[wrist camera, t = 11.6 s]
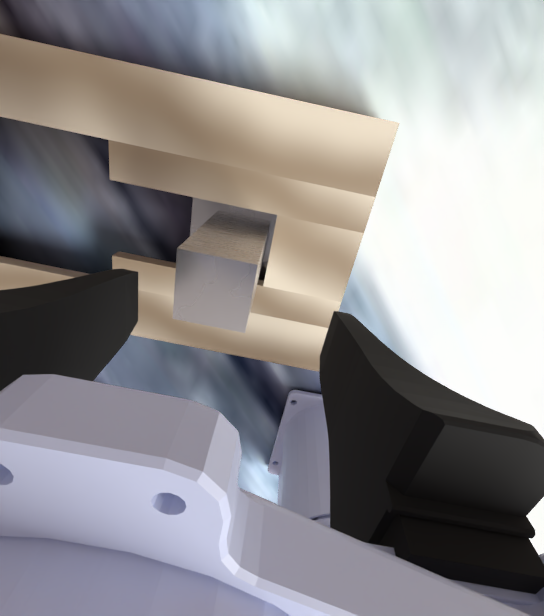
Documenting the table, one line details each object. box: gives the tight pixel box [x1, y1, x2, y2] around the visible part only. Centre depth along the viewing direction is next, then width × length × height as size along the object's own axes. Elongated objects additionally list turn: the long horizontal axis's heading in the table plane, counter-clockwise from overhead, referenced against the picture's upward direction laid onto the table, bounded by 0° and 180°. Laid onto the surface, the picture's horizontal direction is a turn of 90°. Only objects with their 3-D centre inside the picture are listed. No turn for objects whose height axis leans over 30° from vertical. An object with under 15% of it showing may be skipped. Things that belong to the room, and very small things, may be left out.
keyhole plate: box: [0, 34, 399, 371], centre depth 19 cm, size 14×24×3 cm, turn 79°
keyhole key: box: [172, 197, 277, 333], centre depth 17 cm, size 6×6×8 cm
